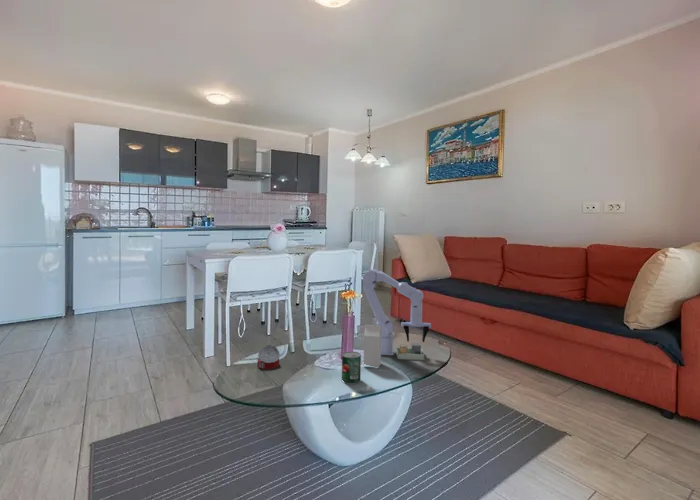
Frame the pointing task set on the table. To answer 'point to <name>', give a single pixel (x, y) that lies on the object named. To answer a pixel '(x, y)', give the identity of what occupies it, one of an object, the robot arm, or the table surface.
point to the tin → (415, 348)
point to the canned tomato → (351, 367)
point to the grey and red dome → (268, 357)
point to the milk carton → (372, 345)
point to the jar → (403, 349)
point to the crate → (410, 355)
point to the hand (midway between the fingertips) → (415, 341)
